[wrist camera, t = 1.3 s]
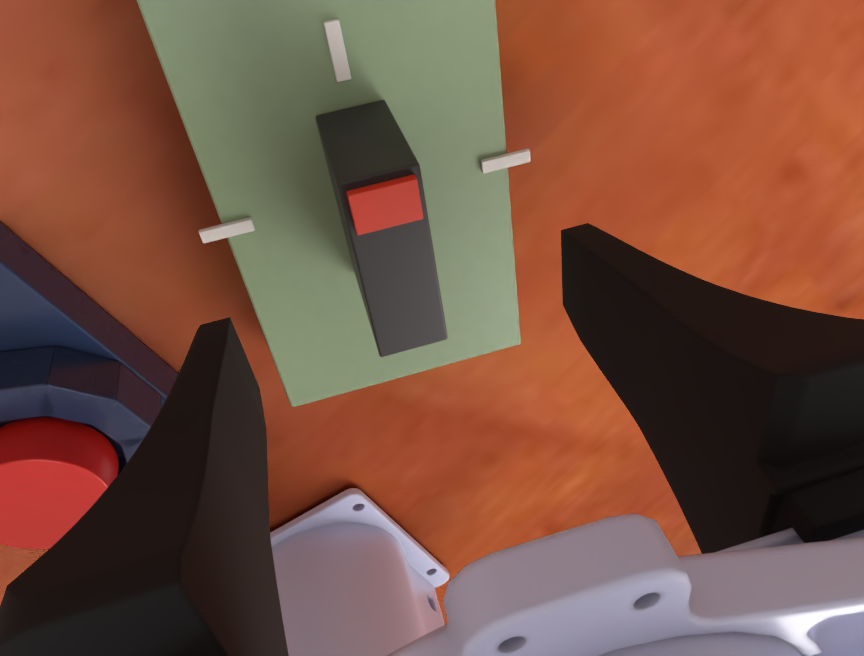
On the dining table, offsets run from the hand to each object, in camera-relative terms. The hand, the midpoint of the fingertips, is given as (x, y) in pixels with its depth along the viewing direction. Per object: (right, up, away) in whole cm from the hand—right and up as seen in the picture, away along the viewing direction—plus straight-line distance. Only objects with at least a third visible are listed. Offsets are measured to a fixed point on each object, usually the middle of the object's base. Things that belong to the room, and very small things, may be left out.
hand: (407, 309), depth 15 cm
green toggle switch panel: (-2, +5, +6) cm, 9 cm away
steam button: (-11, -5, +7) cm, 14 cm away
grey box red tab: (-1, +3, +4) cm, 5 cm away
